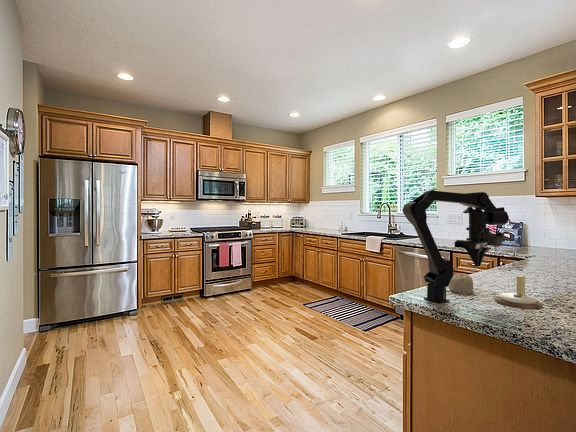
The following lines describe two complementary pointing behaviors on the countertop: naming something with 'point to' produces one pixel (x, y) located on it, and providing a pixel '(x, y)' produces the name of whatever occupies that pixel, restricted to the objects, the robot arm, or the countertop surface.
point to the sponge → (461, 283)
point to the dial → (519, 294)
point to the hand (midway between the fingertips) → (477, 265)
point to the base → (527, 306)
